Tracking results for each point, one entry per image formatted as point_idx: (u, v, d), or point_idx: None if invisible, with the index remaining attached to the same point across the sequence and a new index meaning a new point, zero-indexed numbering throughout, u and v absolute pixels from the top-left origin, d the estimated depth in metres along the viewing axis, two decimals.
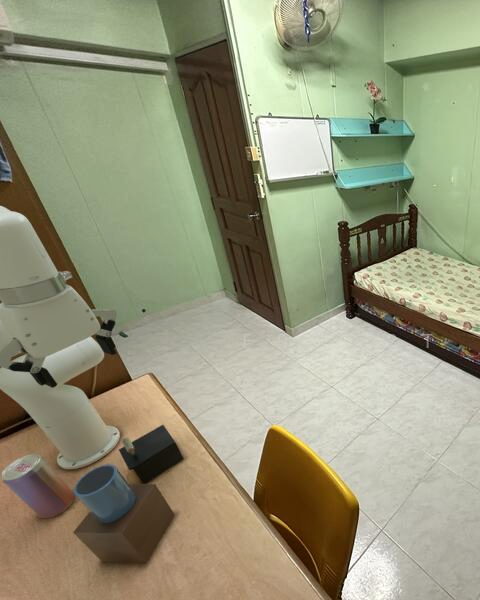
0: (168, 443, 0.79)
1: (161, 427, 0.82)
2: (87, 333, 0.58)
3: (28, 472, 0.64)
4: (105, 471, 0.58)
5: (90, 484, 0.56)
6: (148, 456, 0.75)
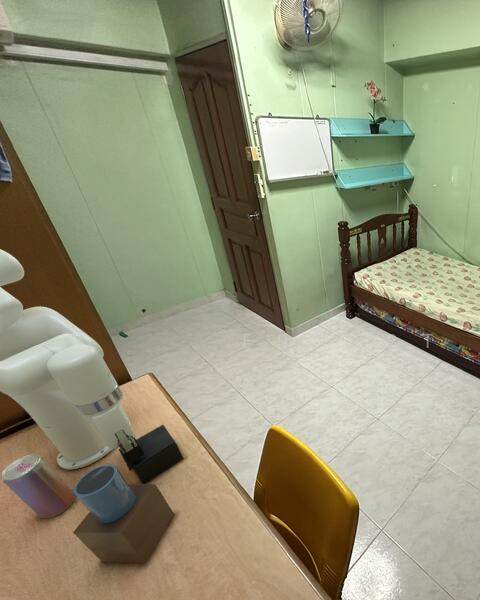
0: (168, 443, 0.79)
1: (161, 427, 0.82)
2: None
3: (28, 472, 0.64)
4: (105, 471, 0.58)
5: (90, 484, 0.56)
6: (148, 456, 0.75)
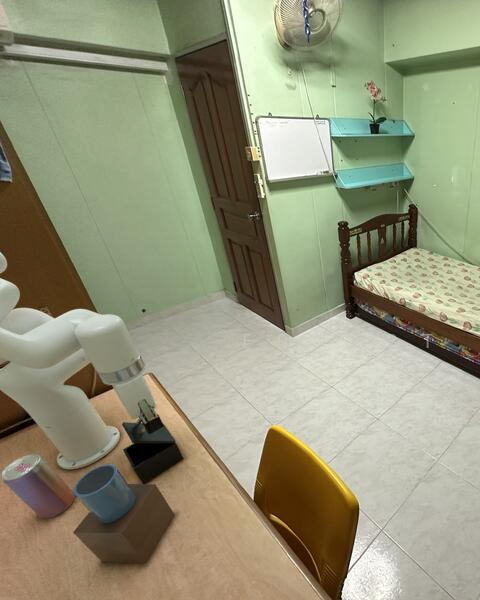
0: (169, 439, 0.79)
1: (163, 426, 0.83)
2: None
3: (28, 472, 0.64)
4: (105, 471, 0.58)
5: (90, 484, 0.56)
6: (151, 440, 0.75)
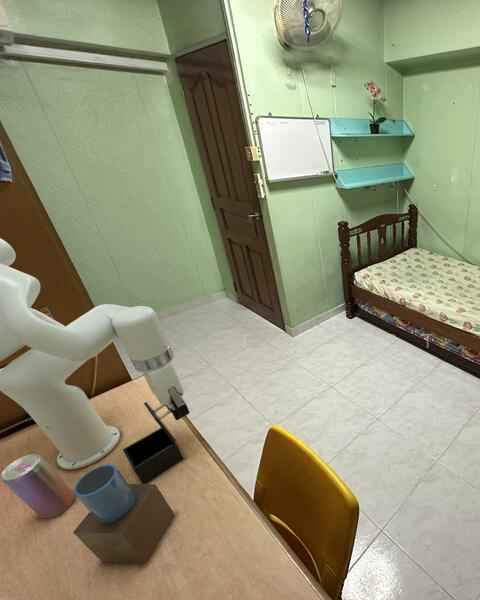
0: None
1: None
2: None
3: (28, 472, 0.64)
4: (105, 471, 0.58)
5: (90, 484, 0.56)
6: (165, 427, 0.76)
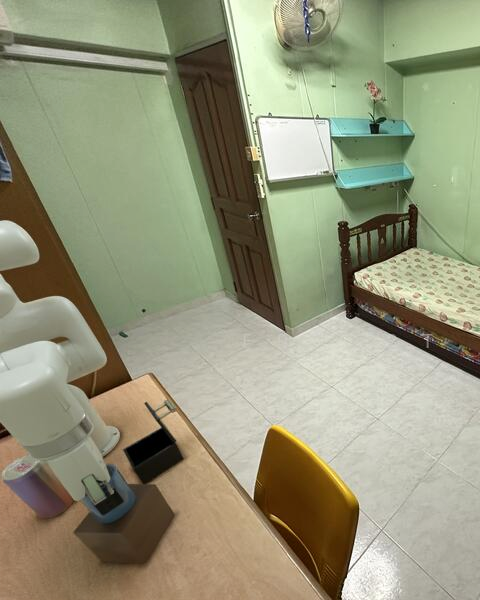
0: None
1: None
2: None
3: (28, 472, 0.64)
4: None
5: None
6: (165, 427, 0.76)
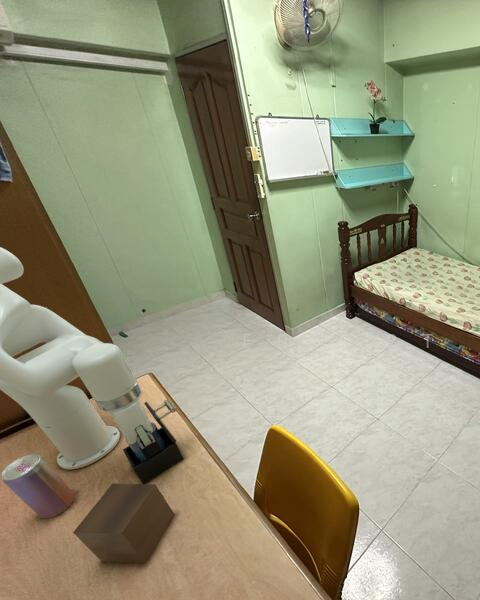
0: None
1: None
2: None
3: (28, 472, 0.64)
4: None
5: (137, 435, 0.75)
6: (165, 427, 0.76)
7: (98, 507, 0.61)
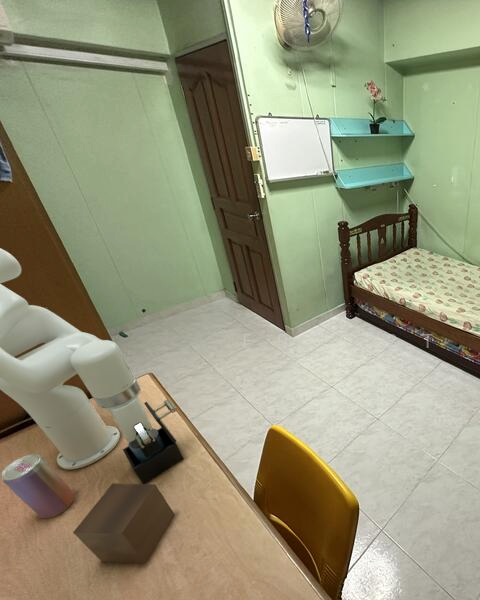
0: None
1: None
2: None
3: (28, 472, 0.64)
4: None
5: None
6: (165, 427, 0.76)
7: (98, 507, 0.61)
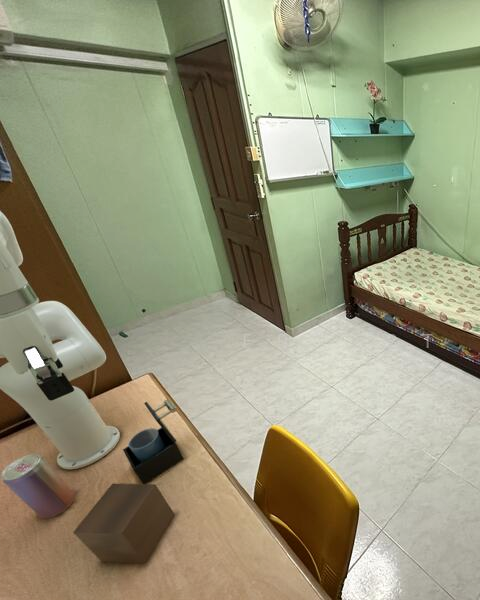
0: None
1: None
2: None
3: (28, 472, 0.64)
4: (150, 433, 0.78)
5: (140, 441, 0.76)
6: (165, 427, 0.76)
7: (98, 507, 0.61)
